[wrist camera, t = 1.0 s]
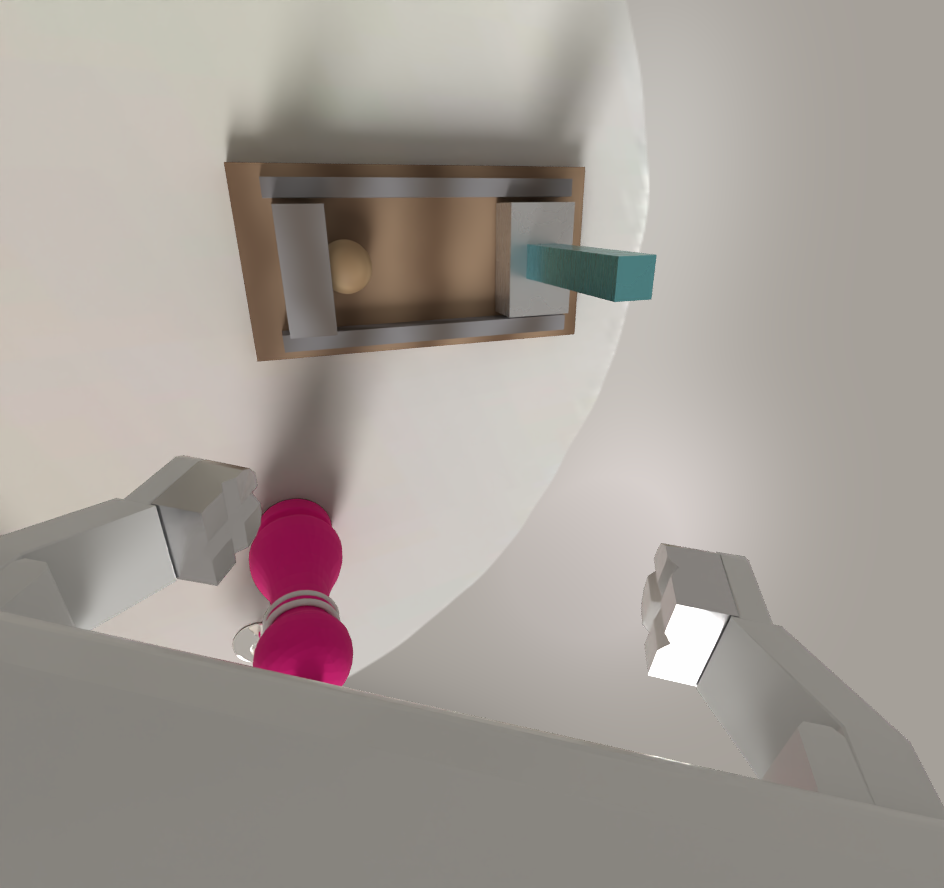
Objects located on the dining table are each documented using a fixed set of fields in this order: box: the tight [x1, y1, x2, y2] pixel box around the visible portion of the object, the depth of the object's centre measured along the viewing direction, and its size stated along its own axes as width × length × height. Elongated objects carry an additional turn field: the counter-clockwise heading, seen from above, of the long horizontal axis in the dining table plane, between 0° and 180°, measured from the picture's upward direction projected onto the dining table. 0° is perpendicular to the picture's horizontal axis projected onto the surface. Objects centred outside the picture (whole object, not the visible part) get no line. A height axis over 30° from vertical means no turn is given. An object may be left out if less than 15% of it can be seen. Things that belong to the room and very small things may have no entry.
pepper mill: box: [249, 499, 353, 686], centre depth 39 cm, size 7×7×20 cm
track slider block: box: [495, 202, 656, 318], centre depth 37 cm, size 5×8×15 cm, turn 0°
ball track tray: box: [224, 162, 585, 361], centre depth 40 cm, size 26×13×7 cm, turn 90°
